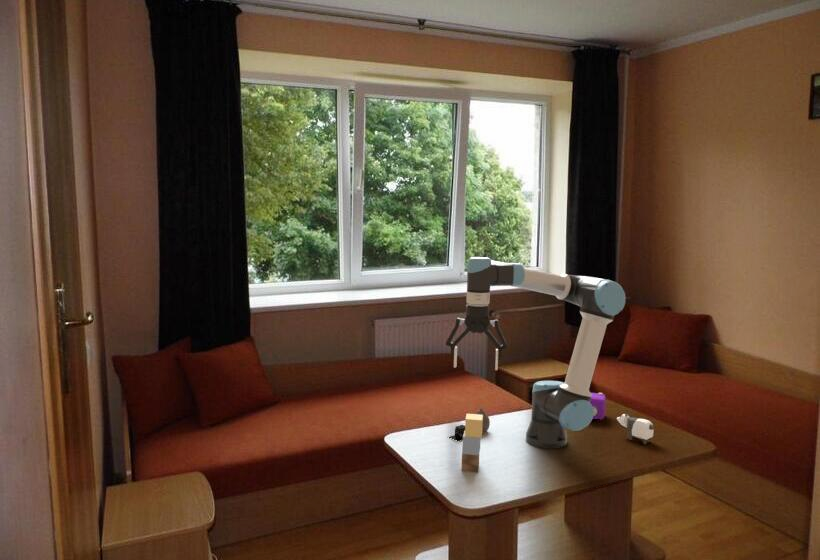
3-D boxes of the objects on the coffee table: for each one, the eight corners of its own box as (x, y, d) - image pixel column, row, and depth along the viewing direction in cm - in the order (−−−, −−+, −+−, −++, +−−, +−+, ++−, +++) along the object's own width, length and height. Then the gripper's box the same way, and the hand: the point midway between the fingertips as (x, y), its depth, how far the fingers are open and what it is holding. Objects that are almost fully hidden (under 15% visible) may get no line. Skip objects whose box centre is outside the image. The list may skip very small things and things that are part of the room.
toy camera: (581, 422, 255) (582, 399, 253) (578, 411, 268) (579, 389, 267) (608, 424, 253) (610, 401, 252) (603, 413, 266) (605, 391, 265)
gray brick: (480, 449, 209) (480, 432, 209) (478, 455, 204) (479, 437, 203) (463, 447, 210) (464, 430, 210) (462, 453, 205) (462, 436, 204)
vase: (492, 430, 243) (493, 409, 242) (484, 435, 238) (485, 414, 236) (476, 427, 247) (477, 405, 246) (468, 432, 241) (469, 410, 240)
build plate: (466, 431, 243) (466, 420, 242) (479, 437, 237) (480, 426, 237) (442, 438, 235) (443, 427, 235) (455, 444, 230) (456, 432, 229)
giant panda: (655, 443, 234) (657, 418, 233) (648, 446, 230) (650, 422, 229) (619, 432, 244) (620, 409, 243) (612, 435, 241) (613, 411, 239)
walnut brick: (479, 465, 210) (479, 448, 210) (477, 472, 205) (478, 455, 204) (462, 464, 211) (463, 447, 210) (461, 470, 206) (461, 453, 205)
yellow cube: (482, 431, 209) (482, 414, 208) (481, 437, 203) (482, 420, 203) (466, 430, 210) (466, 413, 209) (464, 436, 204) (465, 419, 204)
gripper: (438, 304, 200) (436, 368, 202) (516, 308, 196) (513, 373, 198) (441, 301, 207) (439, 362, 210) (516, 304, 203) (513, 367, 206)
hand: (475, 367), depth 204 cm, fingers open, 13 cm apart
